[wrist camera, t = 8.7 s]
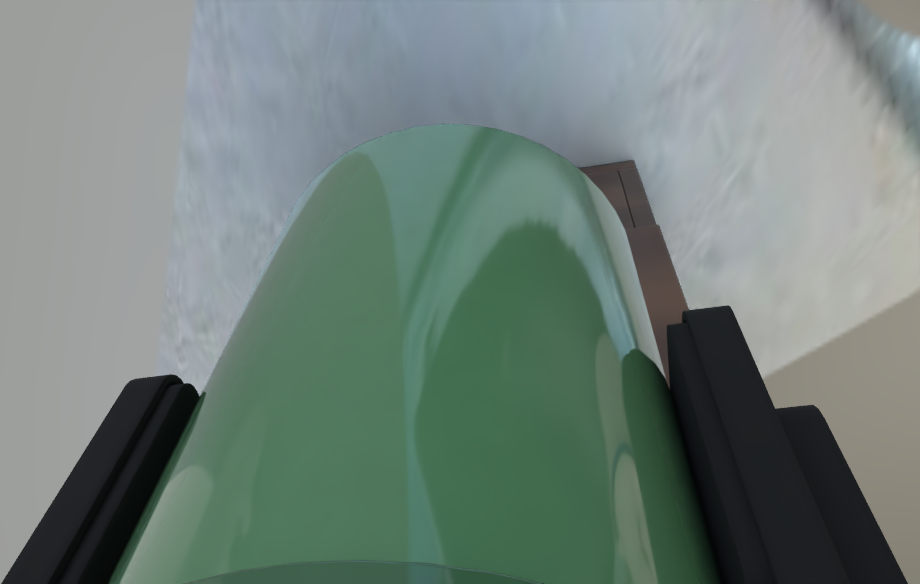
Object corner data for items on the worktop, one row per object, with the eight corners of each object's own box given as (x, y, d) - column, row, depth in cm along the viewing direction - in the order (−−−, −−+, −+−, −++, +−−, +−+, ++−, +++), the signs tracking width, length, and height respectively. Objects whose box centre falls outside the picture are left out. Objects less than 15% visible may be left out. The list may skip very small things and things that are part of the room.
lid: (757, 528, 18) (760, 339, 15) (163, 580, 20) (68, 423, 17) (660, 242, 29) (651, 102, 26) (285, 294, 31) (240, 170, 29)
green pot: (215, 147, 12) (-180, 650, 5) (629, 79, 11) (837, 570, 4) (327, 445, 15) (180, 1001, 8) (654, 410, 15) (794, 996, 8)
